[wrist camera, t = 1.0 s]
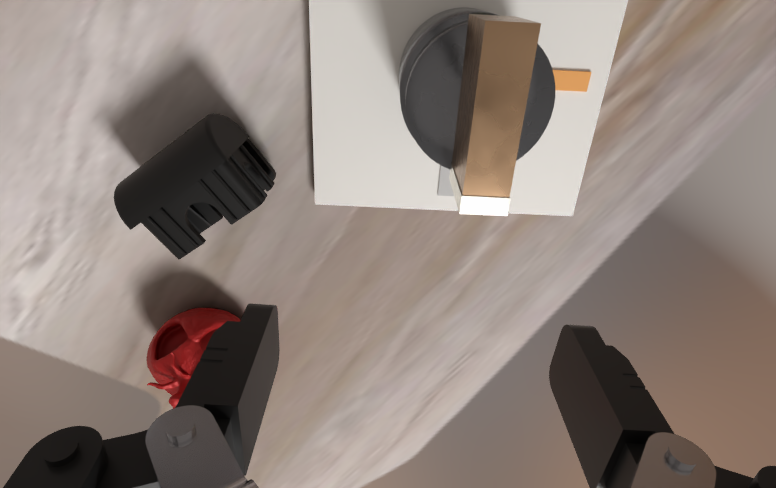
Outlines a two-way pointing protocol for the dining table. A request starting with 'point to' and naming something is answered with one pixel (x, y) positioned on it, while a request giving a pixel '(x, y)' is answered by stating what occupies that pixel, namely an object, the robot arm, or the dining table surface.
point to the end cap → (196, 184)
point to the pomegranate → (182, 347)
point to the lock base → (377, 119)
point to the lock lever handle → (481, 105)
